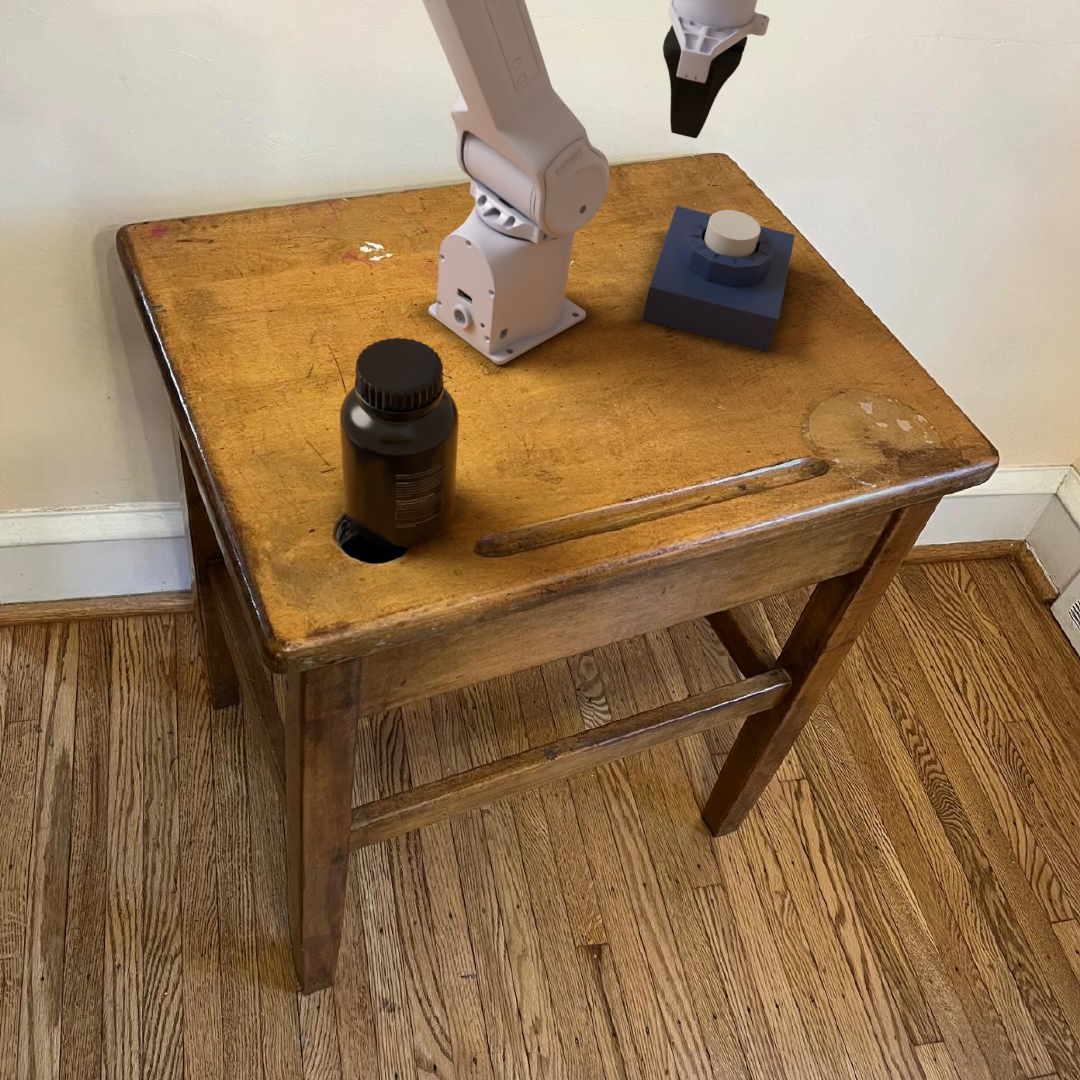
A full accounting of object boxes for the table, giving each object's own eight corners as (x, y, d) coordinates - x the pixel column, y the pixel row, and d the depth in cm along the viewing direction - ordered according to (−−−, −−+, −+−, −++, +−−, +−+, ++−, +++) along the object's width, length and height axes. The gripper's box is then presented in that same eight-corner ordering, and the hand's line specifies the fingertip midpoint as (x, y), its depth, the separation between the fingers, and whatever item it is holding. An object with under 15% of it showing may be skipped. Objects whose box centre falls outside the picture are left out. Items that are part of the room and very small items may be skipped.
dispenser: (767, 352, 82) (785, 299, 79) (641, 320, 83) (653, 266, 80) (784, 267, 90) (801, 215, 87) (668, 238, 91) (681, 185, 87)
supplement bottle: (460, 480, 70) (472, 335, 61) (444, 560, 66) (454, 415, 56) (356, 465, 70) (352, 317, 61) (332, 543, 65) (324, 396, 56)
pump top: (751, 264, 82) (757, 244, 81) (700, 251, 82) (705, 232, 81) (757, 236, 84) (763, 217, 83) (708, 224, 85) (713, 205, 83)
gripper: (774, -4, 67) (722, 191, 77) (797, -82, 76) (748, 101, 87) (665, -28, 68) (627, 168, 78) (701, -103, 77) (663, 81, 87)
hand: (685, 131), depth 82 cm, fingers closed
